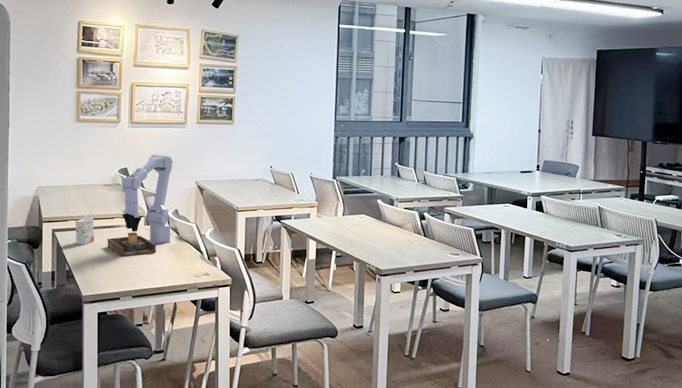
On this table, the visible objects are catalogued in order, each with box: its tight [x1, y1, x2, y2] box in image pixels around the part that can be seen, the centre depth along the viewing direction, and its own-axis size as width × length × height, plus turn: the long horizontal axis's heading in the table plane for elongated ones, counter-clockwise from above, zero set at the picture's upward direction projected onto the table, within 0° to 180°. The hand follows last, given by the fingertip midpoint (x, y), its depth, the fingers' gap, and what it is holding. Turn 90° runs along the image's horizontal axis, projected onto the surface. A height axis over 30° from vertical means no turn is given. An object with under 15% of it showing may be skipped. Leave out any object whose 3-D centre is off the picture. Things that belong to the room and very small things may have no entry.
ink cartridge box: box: [75, 212, 95, 246], centre depth 341 cm, size 9×5×15 cm, turn 168°
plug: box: [127, 231, 139, 244], centre depth 328 cm, size 4×4×8 cm
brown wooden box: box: [107, 235, 157, 257], centre depth 330 cm, size 16×22×4 cm
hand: (131, 229), depth 329 cm, fingers open, 7 cm apart
